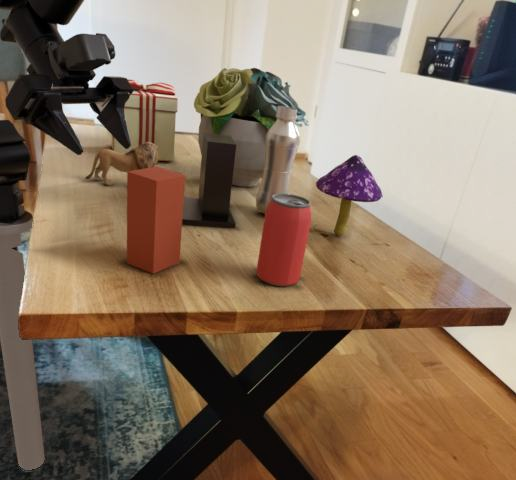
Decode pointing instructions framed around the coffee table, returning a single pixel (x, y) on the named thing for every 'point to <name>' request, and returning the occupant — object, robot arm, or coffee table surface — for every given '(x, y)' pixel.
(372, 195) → the decorative mushroom
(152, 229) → the tall terracotta column
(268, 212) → the beer can
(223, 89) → the flower arrangement
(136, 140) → the gift box
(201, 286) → the coffee table surface
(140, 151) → the lion figurine
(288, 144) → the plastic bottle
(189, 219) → the seat plate
